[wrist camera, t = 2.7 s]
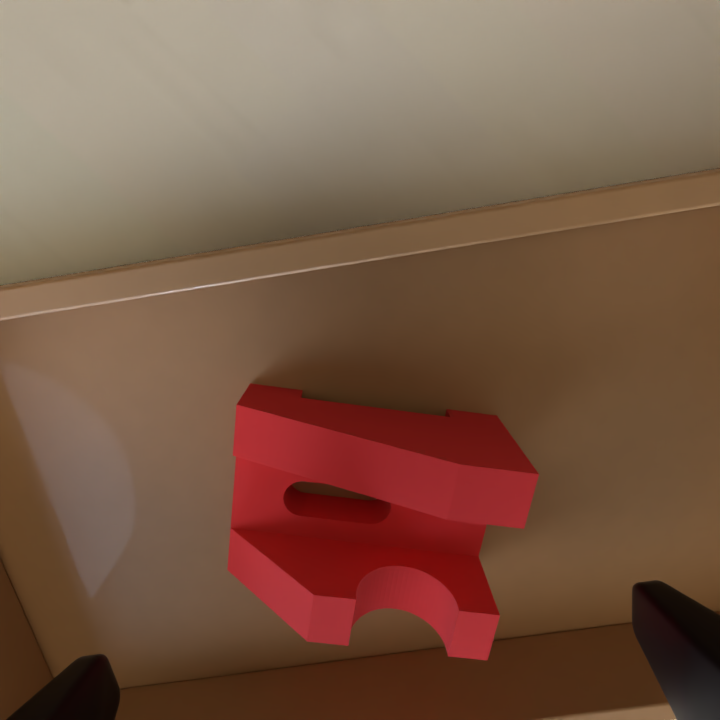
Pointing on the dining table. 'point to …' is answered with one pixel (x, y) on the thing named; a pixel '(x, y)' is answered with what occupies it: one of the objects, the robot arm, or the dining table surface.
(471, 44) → the dining table surface
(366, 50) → the dining table surface
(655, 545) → the cardboard box
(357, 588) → the bracket
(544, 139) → the dining table surface
